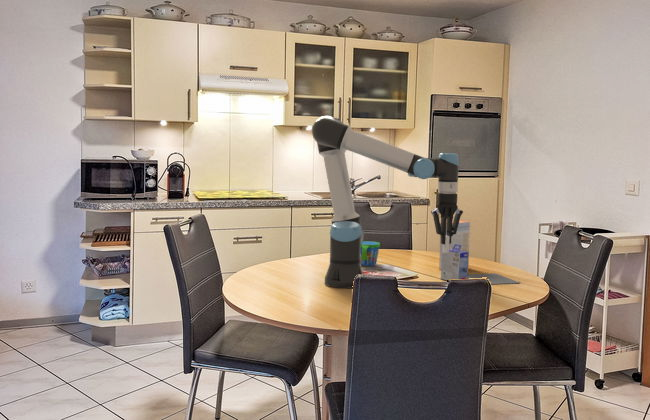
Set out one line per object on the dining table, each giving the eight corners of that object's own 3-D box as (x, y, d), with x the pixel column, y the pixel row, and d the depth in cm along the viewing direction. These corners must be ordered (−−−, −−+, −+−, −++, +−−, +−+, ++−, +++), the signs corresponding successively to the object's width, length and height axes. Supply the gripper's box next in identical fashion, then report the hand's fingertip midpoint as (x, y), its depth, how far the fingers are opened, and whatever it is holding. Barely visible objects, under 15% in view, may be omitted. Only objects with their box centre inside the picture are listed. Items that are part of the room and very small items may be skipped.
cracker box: (457, 266, 267) (459, 219, 265) (468, 268, 263) (471, 221, 261) (437, 269, 258) (439, 222, 256) (449, 271, 254) (451, 223, 252)
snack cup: (362, 261, 274) (363, 239, 273) (384, 263, 270) (384, 241, 269) (350, 267, 260) (351, 244, 259) (373, 269, 256) (373, 246, 255)
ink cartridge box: (468, 282, 234) (469, 246, 233) (458, 284, 231) (460, 247, 230) (449, 277, 242) (450, 242, 241) (440, 279, 239) (441, 243, 238)
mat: (474, 285, 229) (474, 284, 229) (452, 275, 246) (452, 274, 246) (519, 283, 234) (520, 282, 234) (495, 273, 251) (495, 273, 251)
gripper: (436, 193, 227) (434, 254, 229) (467, 193, 230) (465, 253, 232) (428, 192, 234) (426, 251, 236) (458, 191, 237) (456, 250, 240)
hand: (445, 252), depth 234 cm, fingers closed
